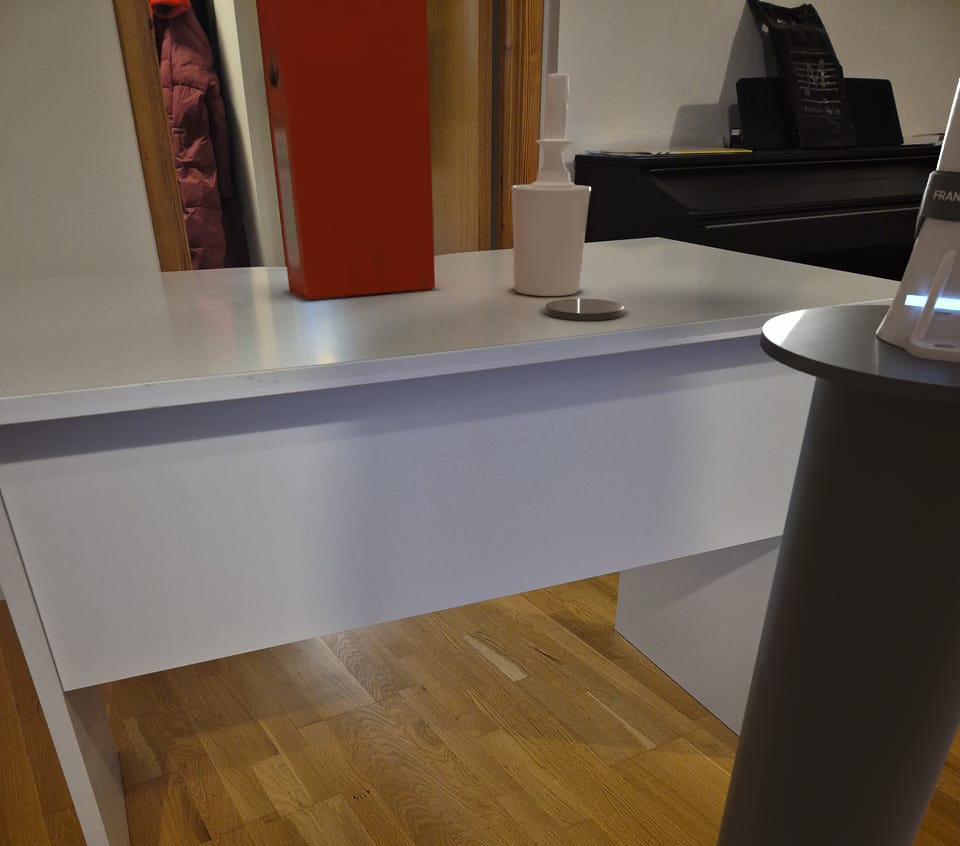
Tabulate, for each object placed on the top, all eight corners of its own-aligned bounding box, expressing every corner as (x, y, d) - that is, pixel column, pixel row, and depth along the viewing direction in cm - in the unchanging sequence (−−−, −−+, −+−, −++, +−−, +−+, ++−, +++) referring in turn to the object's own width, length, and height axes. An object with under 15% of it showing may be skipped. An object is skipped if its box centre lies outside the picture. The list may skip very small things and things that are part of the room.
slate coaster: (637, 312, 97) (638, 305, 97) (592, 324, 92) (592, 316, 91) (576, 302, 102) (576, 295, 102) (529, 313, 97) (529, 305, 96)
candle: (563, 184, 106) (570, 70, 99) (581, 187, 101) (589, 67, 95) (524, 185, 104) (528, 68, 98) (541, 187, 100) (546, 65, 94)
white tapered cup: (514, 284, 114) (516, 183, 107) (586, 286, 112) (593, 185, 106) (503, 295, 105) (505, 187, 99) (581, 298, 104) (588, 189, 98)
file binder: (288, 291, 109) (253, -21, 92) (409, 280, 116) (397, -11, 99) (308, 301, 103) (275, -30, 86) (435, 289, 110) (427, -19, 93)
